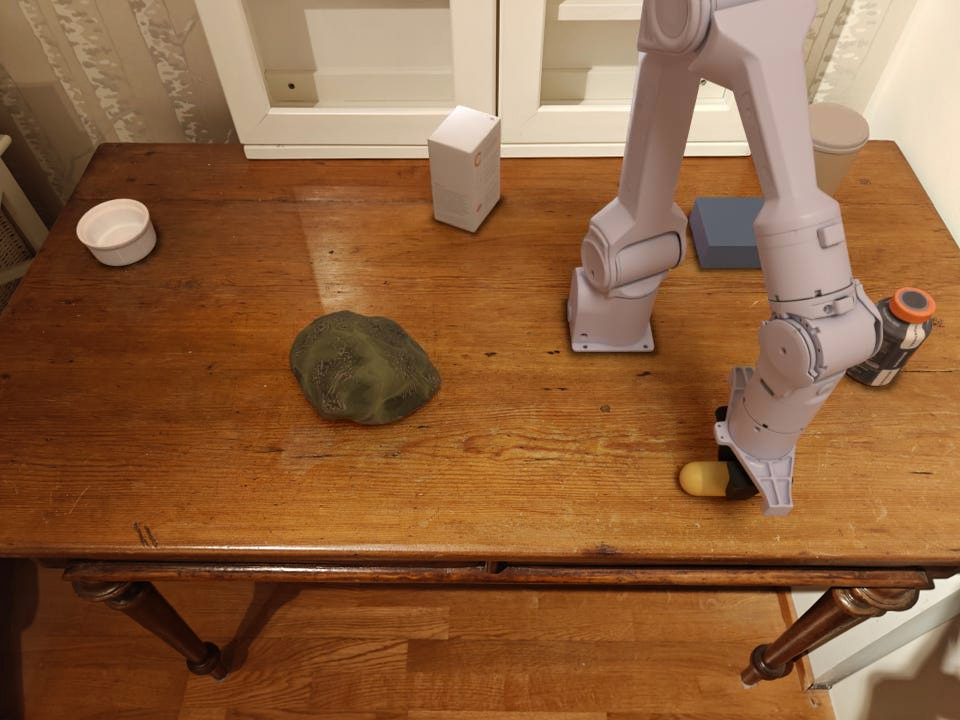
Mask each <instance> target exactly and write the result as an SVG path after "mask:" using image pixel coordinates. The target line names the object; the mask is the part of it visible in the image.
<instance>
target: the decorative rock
mask: <svg viewBox="0 0 960 720" xmlns="http://www.w3.org/2000/svg"><path fill="white" fill-rule="evenodd" d="M288 359H289V360H288V361H289V367H290V370H291V373H292V374H293V377H294V378H295V380H296V382H297V384H298V386H299V388H300V391H302V393H303V395H304V398H305V399H306V400H307V402H308V403H309V404H310V405H311V406H313V407H314V409H315V410H316V411H317V413H318V415H319V416H320V417H321V418H323V419H325V420H329V421H340V420H350V421H352V422H355V423H357V424H362V425H370V426H376V425H377V426H378V425H384V424H391V423H395V422H398V421H400V420H403V419H404V418H406V417H408V416H409V415H411V414H412V413H414V412H416V411H417V410H419V409H420V408H422V407H423V406H424V405H425V404H426V403H428V402H429V401H430V399H432V398H433V396H434V395H435V394H436V393H437V392H438V391H439V390H440V387H441V384H442V377H441V375H440V373H439V371H438V369H437V368H436V367H435V365H434V364H433V363H432V361H431V360H430V358H429V356H428V353H427V352H426V350H424V348H423V347H422V346H421V344H419V342H417V340H415V339H414V338H413V337H412V336H411V335H410V334H409V333H407V332H406V330H404V328H403V326H401V324H399V323H398V322H397V321H395V320H393V319H390V318H388V317H384V316H380V315H379V316H377V315H376V316H368V315H363V314H362V313H361V314H360V313H356V312H353V311H351V310H347V309H342V310H339V311H333V312H330V313H328V314H324V315H322V316H318V317H317V318H315V319H314V320H313V321H312V322H311V323H309V324H308V325H307V326H305V327H304V328H303V329H302V330H300V331H299V332H298V333H297V335H296V336H295V339H294V341H293V342H292V345H291V347H290V350H289V355H288Z"/></svg>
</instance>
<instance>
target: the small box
mask: <svg viewBox="0 0 960 720" xmlns="http://www.w3.org/2000/svg"><path fill="white" fill-rule="evenodd" d="M501 129H502V117H499V116H496V115H493V114H491V113H486V112H483V111H480V110H476V109H473V108H470V107H467V106H462V105H456V106H455V108H454V109H452V111H451V112H450V113H449V114H448V116H447V117H446V118H445V119H444V120H443V121H442V122H441V123H440V124H439V125H438V126H437V127H436V129H434V131H433V132H432V133H431V134H430V135H429V136H428V137H427V139H426V142H427V151H428V161H429V162H428V163H429V173H430V185H431V194H432V205H433V218H434V219H435V220H436V221H439V222H442V223H445V224H447V225H450V226H452V227H456V228H458V229H461V230H464V231H466V232H467V231H468V232H471V233H475V232H476V231H477V230H478V229H479V227H480V226H481V224H482V223H483V222H484V220H485V219H486V217H488V215H489V214H490V212H491V211H492V210H493V208H494V207H495V206H496V204H497V203H498V202H499V200H500V199H501V149H502V148H501V147H502V145H501V144H502V143H501V140H502V137H501V136H502V131H501Z"/></svg>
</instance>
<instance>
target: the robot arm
mask: <svg viewBox="0 0 960 720" xmlns="http://www.w3.org/2000/svg"><path fill="white" fill-rule="evenodd" d="M641 5H642V6H641V13H640V18H639V27H638V33H637V41H636V50H637V52H638V57H637V63H636V64H637V65H636V71H635V77H634V84H633V89H632V90H633V91H632V97H631V104H630V109H629V111H630V112H629V117H628V125H627V131H626V138H625V143H624V144H625V145H624V152H623V157H622V164H621V171H620V178H619V184H618V191H617V196H615V198H614V199H613V200H611V201H610V202H609V203H608V204H606V205H605V206H604V207H603V208H602V209H601V210H599V211H598V212H597V213H596V214H595V215H593V216H592V217H591V219H590V220H589V224H588V225H589V226H588V231H587V233H586V234H585V236H584V237H583V240H582V243H581V246H580V261H581V265H582V266H579V267H574V268H573V270H572V275H571V282H570V290H569V297H568V299H567V322H568V323H569V332H570V334H569V335H570V342H571V350H572V351H573V353H574V352H575V353H647V352H648V353H649V352H653V351H654V350H655V343H654V339H653V333H652V327H651V322H650V320H651V316H652V314H653V312H652V311H653V309H654V306H655V302H656V299H657V296H658V292H659V288H660V285H661V282H662V281H664V280H666V279H667V278H668V276H669V273H670V270H675V269H678V268H680V267H681V266H682V265H683V264H684V262H685V259H686V255H687V250H688V243H687V242H688V241H687V235H686V233H687V231H686V230H687V226H688V222H689V219H688V218H687V215H686V214H685V211H683V209H682V208H681V207H680V206H679V205H678V204H677V202H675V196H676V192H677V187H678V182H679V178H680V174H681V168H682V165H683V161H684V157H685V151H686V147H687V144H688V143H687V142H688V138H689V135H690V129H691V125H692V121H693V117H694V112H695V108H696V103H697V99H698V95H699V90H700V85H701V81H702V79H703V80H706V81H707V82H710V83H712V84H714V85H717V86H719V87H722V88H724V89H727V90H729V91H731V92H732V93H733V97H734V100H735V104H736V107H737V110H738V114H739V117H740V121H741V124H742V127H743V131H744V133H745V134H744V135H745V139H746V141H747V144H748V148H749V151H750V155H751V158H752V161H753V164H754V167H755V172H756V174H757V179H758V182H759V186H760V188H761V192H762V195H763V197H764V199H765V202H764V205H763V207H762V209H761V210H760V212H759V213H758V215H757V217H756V218H755V220H754V222H753V229H754V234H755V239H756V244H757V248H758V253H759V258H760V262H761V267H762V268H761V271H762V277H763V281H764V286H765V291H766V296H767V300H768V301H767V302H768V305H769V311H770V315H771V316H770V318H769V319H767V320H765V321H764V320H760V323H759V327H758V332H757V338H758V346H759V355H758V358H757V359H756V362H755V365H756V368H755V367H754V366H753V365H732V366H731V369H730V371H729V373H728V375H727V381H728V386H730V387H731V389H730V394H729V398H728V405H720V406H718V407H717V408H715V411H714V416H715V421H716V422H715V424H714V425H713V427H712V428H713V429H712V430H713V431H712V432H713V435H714V440H715V442H716V443H717V444H718V445H717V457H716V458H717V461H728V462H727V463H726V464H727V468H728V473H729V482H728V484H727V487H726V490H725V493H726V496H725V497H726V501H731V502H733V501H734V502H735V501H737V502H738V501H740V502H741V501H744V502H745V501H746V502H747V501H748V500H750V499H752V498H753V497H756V496H755V495H757V494H759V493H760V494H761V495H762V496H761V497H762V500H763V501H762V503H761V504H760V510H761V515H762V516H763V517H786V516H787V515H788V514H789V513H790V511H791V510H792V509H793V508H794V502H793V497H792V486H793V483H794V476H793V475H794V465H795V459H796V458H795V456H796V450H797V449H796V447H797V442H798V440H799V439H800V438H801V436H802V435H803V434H804V432H805V431H806V429H807V428H808V427H809V425H810V424H811V423H812V421H813V420H814V418H815V416H816V415H817V414H818V412H819V411H820V410H821V408H822V407H823V406H824V404H825V403H826V401H827V400H828V399H829V397H830V396H831V394H832V392H833V391H834V389H835V388H836V387H837V385H838V384H839V383H840V381H841V380H842V378H843V377H844V376H845V374H846V373H847V372H846V369H848V368H850V367H853V366H855V365H858V364H860V363H862V362H864V361H866V360H867V359H869V358H871V357H873V356H874V355H875V354H876V353H877V352H878V351H879V349H880V347H881V344H882V340H883V329H882V325H883V320H882V317H881V315H880V313H879V311H878V309H877V308H876V306H875V303H874V301H872V300H871V299H870V298H869V297H868V295H867V294H866V292H865V290H864V285H863V283H861V282H860V279H859V278H854V276H853V272H852V267H851V261H850V256H849V255H850V254H849V250H848V244H847V239H846V233H845V228H844V222H843V218H842V211H841V205H840V203H839V202H838V201H837V200H836V199H834V197H830V196H828V195H827V194H826V193H824V192H823V191H821V190H820V189H819V188H818V186H817V180H816V170H815V160H814V150H813V141H812V131H811V121H810V111H809V104H810V103H809V93H808V84H807V74H806V63H805V54H804V53H805V51H804V46H805V42H806V40H807V39H806V38H807V37H808V35H809V32H810V30H811V27H812V24H813V23H814V20H815V17H816V15H817V11H818V9H819V4H818V0H642V4H641Z"/></svg>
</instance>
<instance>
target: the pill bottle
mask: <svg viewBox="0 0 960 720" xmlns="http://www.w3.org/2000/svg"><path fill="white" fill-rule="evenodd" d="M874 305H875V306H876V308H877V309H878V311H879V313H880V315H881V317H882V320H883V325H882V329H883V340H882V344H881V347H880V349H879V351H878V352H877V353H876V354H875V355H874V356H873V357H871V358H869V359H867V360H866V361H864V362H862V363H860V364H858V365H855V366H853V367H850V368H848V369H846V372H845V373H847V374H848V376H850V377H851V378H853V379H854V380H855V381H857V382H858V383H861V384H864V385H867V386H871V387H879V386H885V385H888V384H891V382H893V380H894V379H895V378H896V377H897V376H898V375H899V373H900V372H901V371H902V369H904V367H905V366H906V364H907V363H908V362H909V361H910V359H912V357H913V356H914V354H915V353H916V352H917V350H918V349H920V347H921V346H922V345H923V344H924V343H925V341H926V339H927V338H928V337H929V336H930V334H931V332H932V330H933V319H932V316H933V314H934V313H935V312H936V309H937V303H936V302H935V300H934V298H933V297H932V295H930V294H929V293H927V292H926V291H924V290H922V289H920V288H916V287H913V286H905V287H901V288H899V289H897V290H896V291H895V292H894V294H893V295H892V296H888V297H884V298H881V299H880V300H878V301H877V302H875V303H874Z"/></svg>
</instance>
